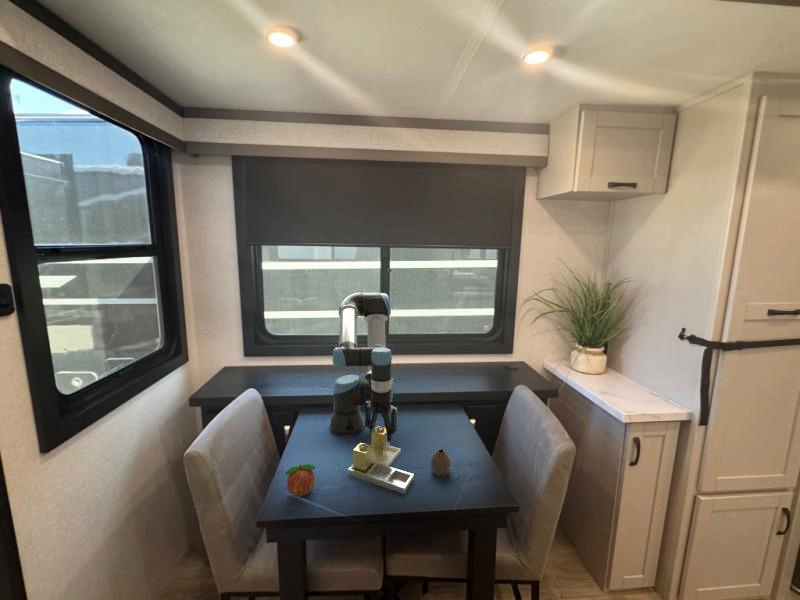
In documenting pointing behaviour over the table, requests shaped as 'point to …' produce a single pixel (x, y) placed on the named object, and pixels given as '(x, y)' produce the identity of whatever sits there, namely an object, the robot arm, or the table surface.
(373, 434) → the knobbed block
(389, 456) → the tray
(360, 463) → the brass block with knob
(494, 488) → the table surface
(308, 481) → the fruit
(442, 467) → the vase
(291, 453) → the table surface
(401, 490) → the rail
